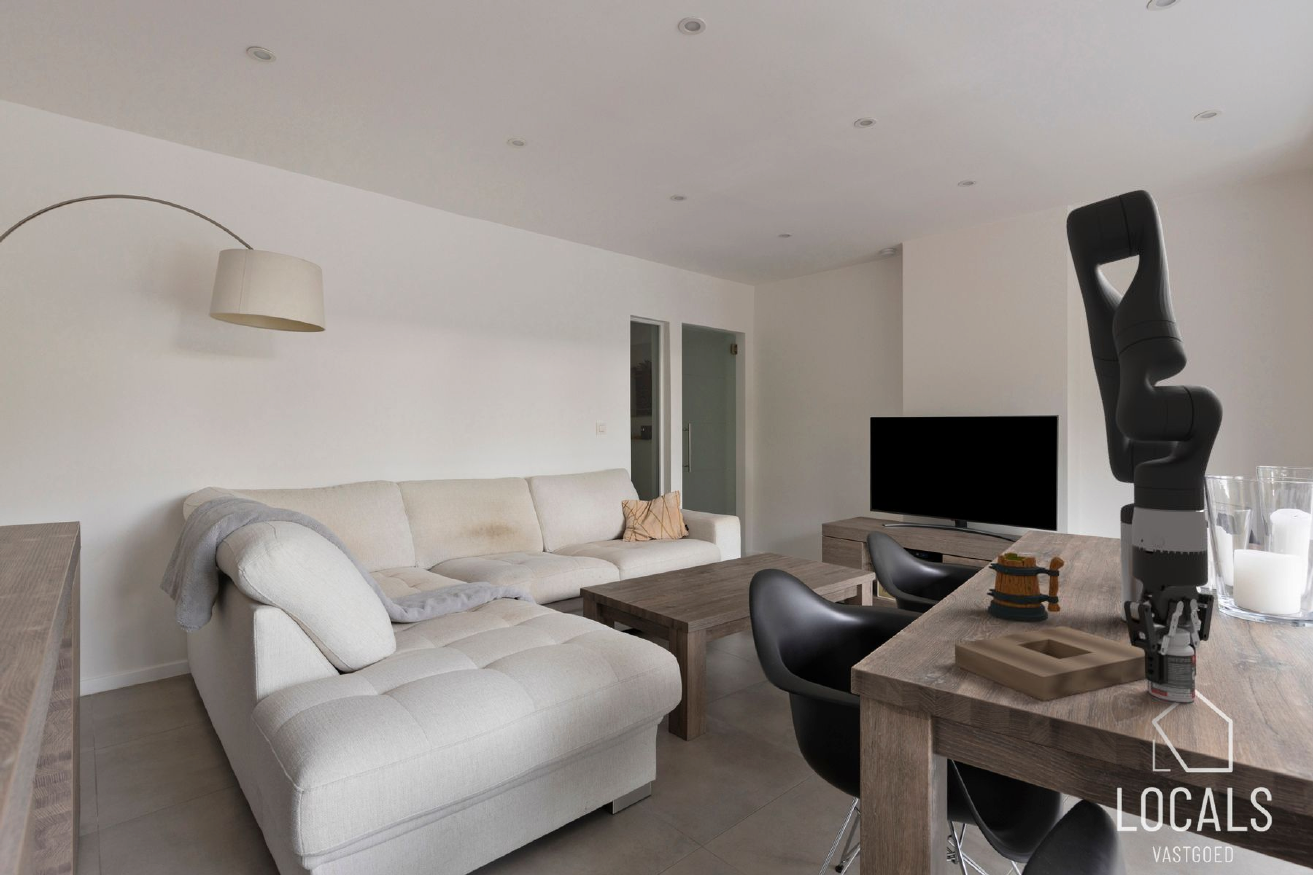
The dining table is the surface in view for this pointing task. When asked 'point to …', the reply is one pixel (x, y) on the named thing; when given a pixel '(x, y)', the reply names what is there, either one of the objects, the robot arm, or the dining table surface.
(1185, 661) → the pill bottle
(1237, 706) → the dining table surface
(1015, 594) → the mug
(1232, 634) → the dining table surface
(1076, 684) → the board
